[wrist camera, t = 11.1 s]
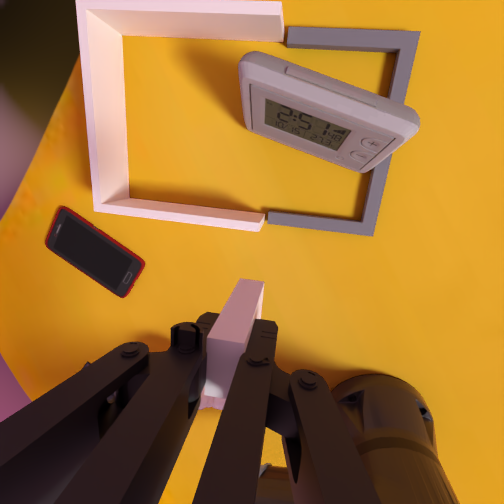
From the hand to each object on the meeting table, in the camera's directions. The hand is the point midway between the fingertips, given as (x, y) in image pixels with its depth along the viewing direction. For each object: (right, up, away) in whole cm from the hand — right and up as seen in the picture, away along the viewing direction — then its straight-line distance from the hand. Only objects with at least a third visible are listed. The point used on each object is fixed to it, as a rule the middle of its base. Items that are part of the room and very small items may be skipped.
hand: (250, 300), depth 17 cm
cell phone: (-23, +3, +26) cm, 35 cm away
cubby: (-6, +18, +18) cm, 26 cm away
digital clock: (+7, +18, +16) cm, 25 cm away
